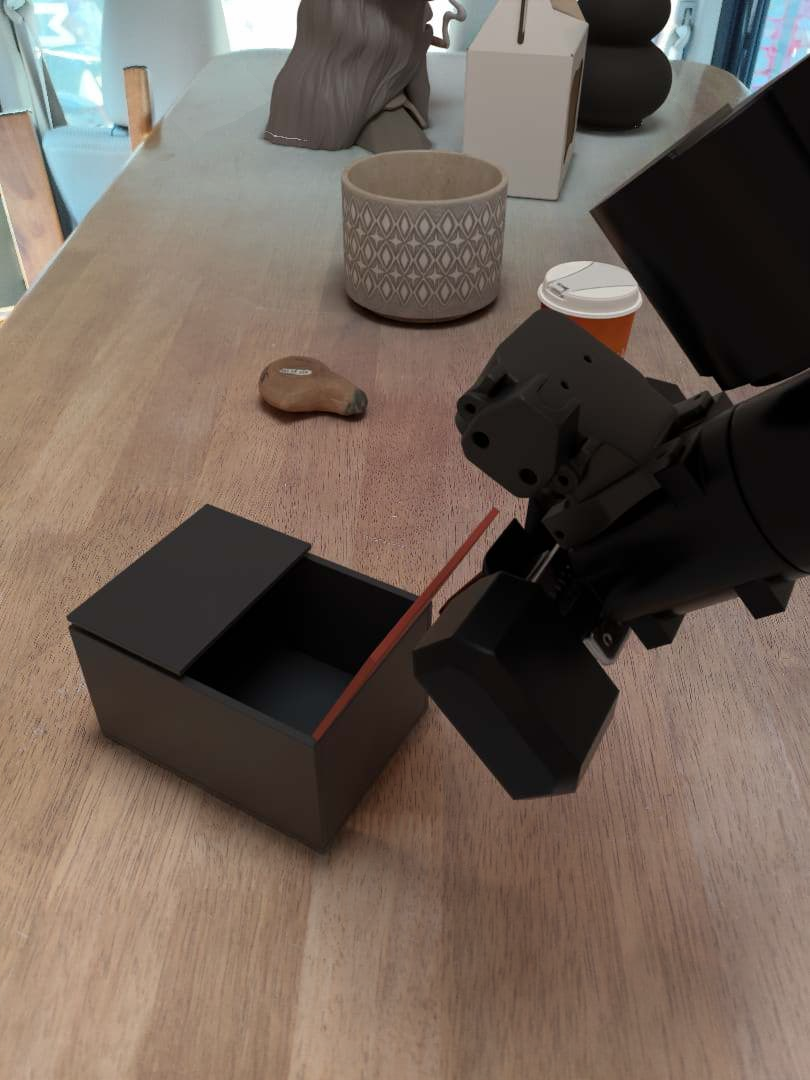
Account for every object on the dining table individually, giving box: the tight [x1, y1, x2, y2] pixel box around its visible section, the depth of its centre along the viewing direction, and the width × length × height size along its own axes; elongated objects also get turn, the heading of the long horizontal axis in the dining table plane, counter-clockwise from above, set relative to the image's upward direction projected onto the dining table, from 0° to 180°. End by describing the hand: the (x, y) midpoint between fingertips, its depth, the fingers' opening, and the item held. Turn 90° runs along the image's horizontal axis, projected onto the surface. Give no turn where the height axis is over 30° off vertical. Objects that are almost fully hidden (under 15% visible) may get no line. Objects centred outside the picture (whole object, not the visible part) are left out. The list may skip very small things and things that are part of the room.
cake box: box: [461, 0, 589, 202], centre depth 121 cm, size 22×13×28 cm, turn 166°
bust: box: [263, 0, 468, 154], centre depth 136 cm, size 34×34×35 cm
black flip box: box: [65, 503, 433, 855], centre depth 49 cm, size 15×11×9 cm
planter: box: [340, 149, 508, 324], centre depth 92 cm, size 16×16×13 cm
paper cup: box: [536, 260, 643, 360], centre depth 70 cm, size 8×8×14 cm
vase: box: [577, 0, 673, 133], centre depth 138 cm, size 18×18×35 cm
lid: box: [312, 506, 500, 740], centre depth 40 cm, size 7×11×1 cm
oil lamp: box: [257, 355, 369, 416], centre depth 78 cm, size 9×4×8 cm
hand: (448, 616), depth 39 cm, fingers closed
